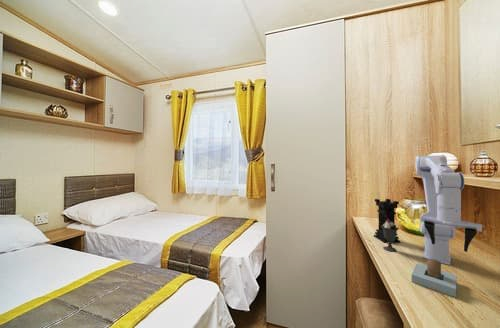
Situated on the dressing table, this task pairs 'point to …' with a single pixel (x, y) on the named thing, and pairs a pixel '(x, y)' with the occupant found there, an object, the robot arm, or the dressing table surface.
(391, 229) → the sundae
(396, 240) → the chess piece
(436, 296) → the dressing table surface
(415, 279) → the socket block
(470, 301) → the dressing table surface
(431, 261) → the peg
